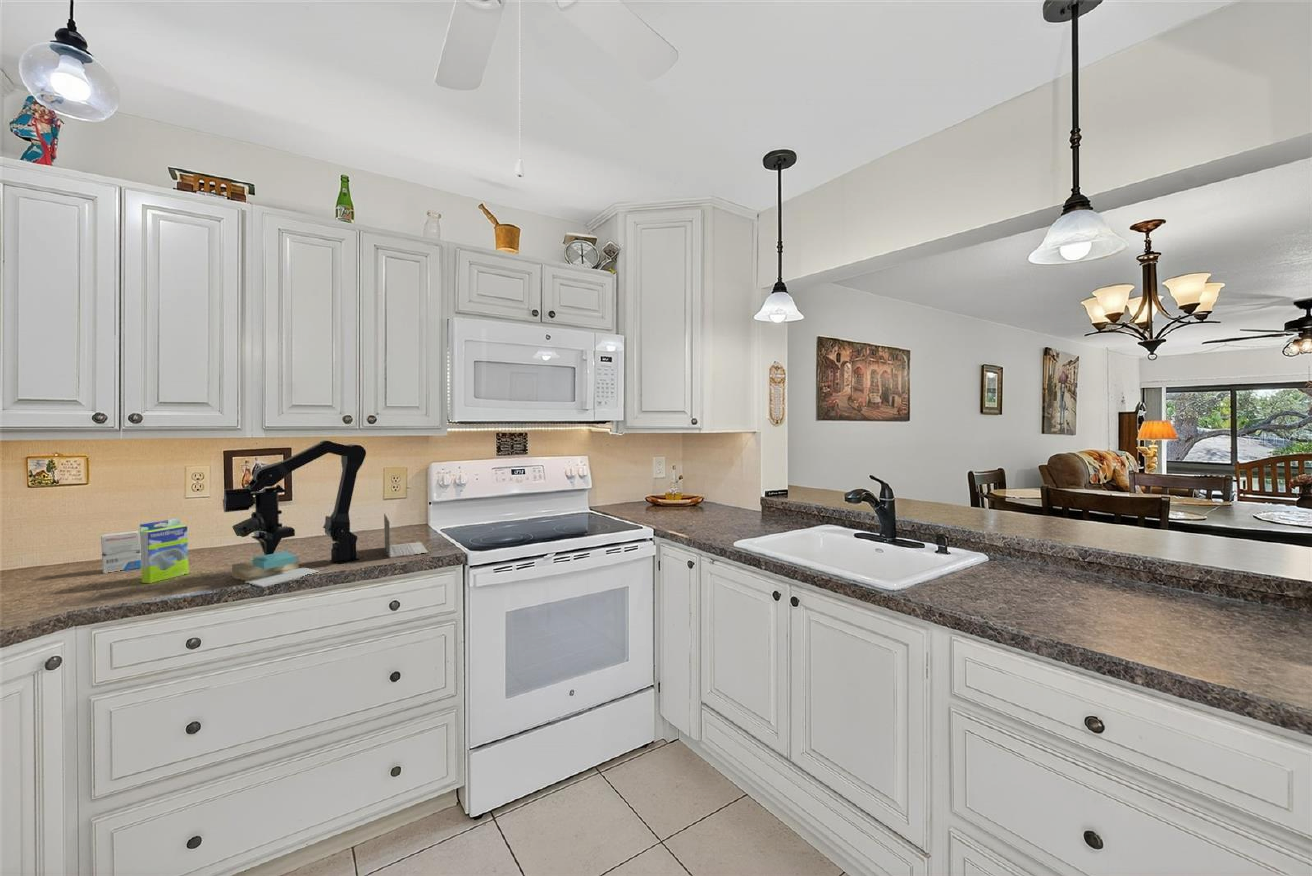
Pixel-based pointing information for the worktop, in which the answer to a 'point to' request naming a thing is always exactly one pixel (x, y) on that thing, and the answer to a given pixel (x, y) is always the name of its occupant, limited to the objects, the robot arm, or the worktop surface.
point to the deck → (259, 570)
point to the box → (163, 550)
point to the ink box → (121, 551)
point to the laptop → (401, 548)
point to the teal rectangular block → (274, 560)
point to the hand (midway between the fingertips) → (268, 558)
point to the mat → (281, 577)
